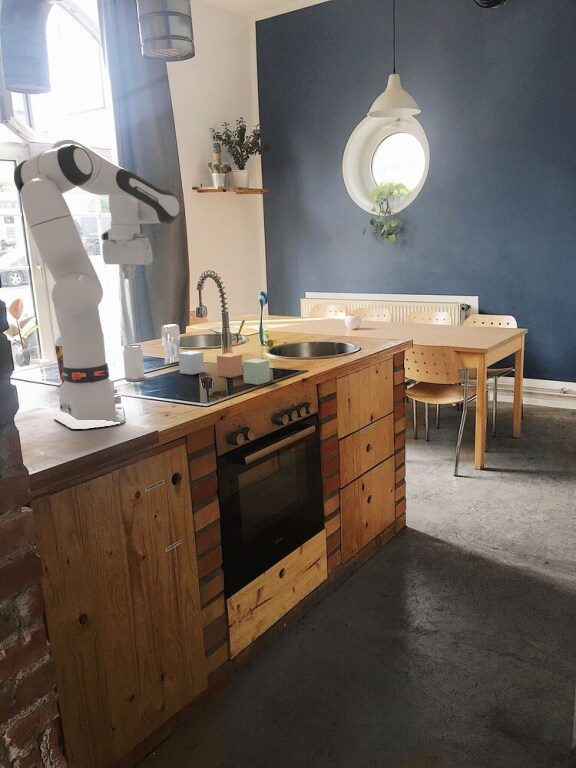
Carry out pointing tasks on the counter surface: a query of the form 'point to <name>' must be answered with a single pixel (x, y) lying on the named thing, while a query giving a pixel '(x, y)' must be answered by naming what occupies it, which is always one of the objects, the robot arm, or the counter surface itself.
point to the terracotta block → (229, 365)
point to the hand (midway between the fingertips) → (129, 279)
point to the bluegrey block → (191, 362)
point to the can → (133, 362)
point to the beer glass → (171, 342)
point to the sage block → (256, 371)
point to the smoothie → (59, 356)
